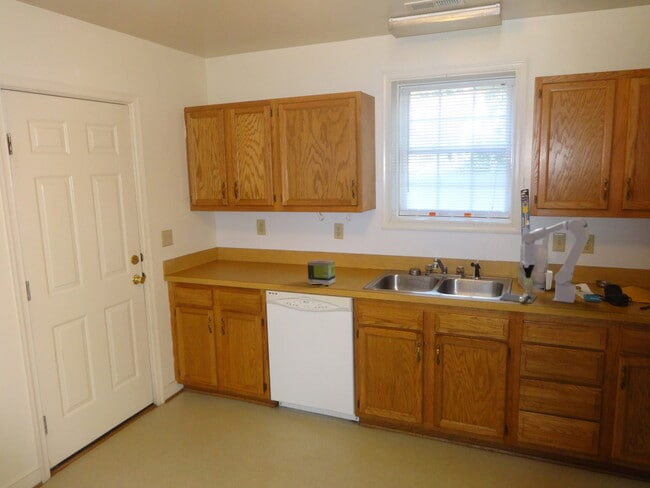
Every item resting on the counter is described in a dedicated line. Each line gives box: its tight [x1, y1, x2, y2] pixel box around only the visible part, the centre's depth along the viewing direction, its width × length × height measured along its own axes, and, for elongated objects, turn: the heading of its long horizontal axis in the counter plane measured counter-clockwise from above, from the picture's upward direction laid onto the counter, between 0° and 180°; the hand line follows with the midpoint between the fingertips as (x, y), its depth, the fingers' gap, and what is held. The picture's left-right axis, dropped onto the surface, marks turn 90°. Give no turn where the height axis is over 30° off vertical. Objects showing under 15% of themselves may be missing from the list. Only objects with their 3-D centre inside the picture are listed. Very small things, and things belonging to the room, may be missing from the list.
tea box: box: [307, 259, 336, 285], centre depth 304 cm, size 15×10×15 cm, turn 63°
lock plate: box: [499, 292, 537, 304], centre depth 258 cm, size 16×15×1 cm
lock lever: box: [518, 292, 531, 303], centre depth 253 cm, size 14×4×2 cm, turn 144°
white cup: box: [545, 269, 554, 291], centre depth 275 cm, size 8×8×10 cm
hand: (528, 277), depth 263 cm, fingers closed
